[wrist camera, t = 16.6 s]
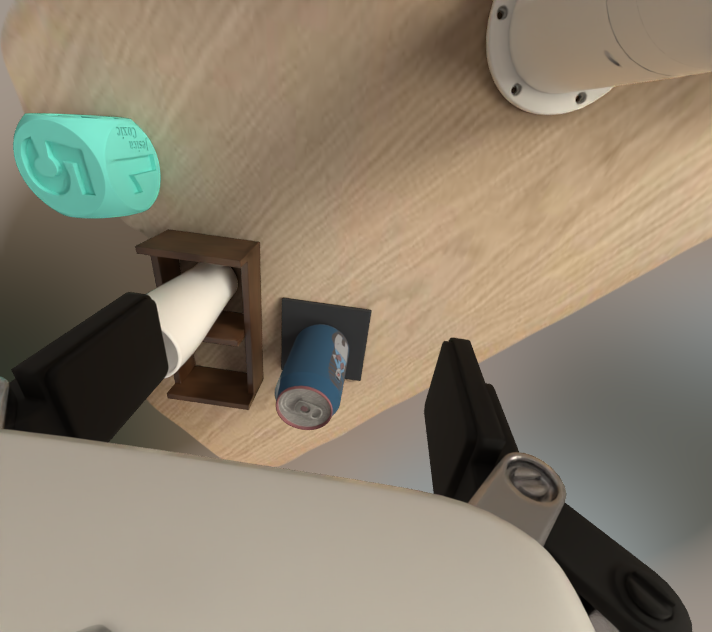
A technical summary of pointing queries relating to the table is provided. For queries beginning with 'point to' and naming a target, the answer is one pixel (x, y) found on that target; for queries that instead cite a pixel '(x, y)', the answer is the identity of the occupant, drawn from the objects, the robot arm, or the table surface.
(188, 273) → the white tall tumbler
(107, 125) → the decorative dice
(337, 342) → the soda can
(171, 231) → the drinks rack
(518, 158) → the table surface
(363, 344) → the coaster
